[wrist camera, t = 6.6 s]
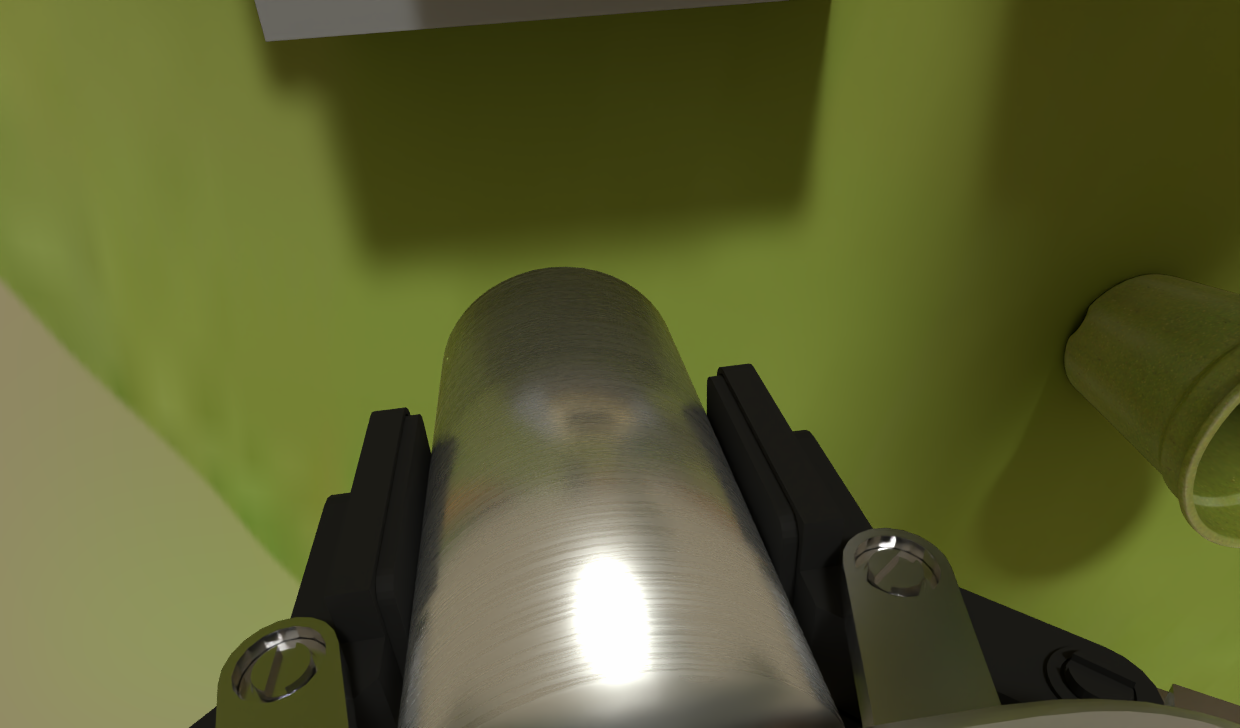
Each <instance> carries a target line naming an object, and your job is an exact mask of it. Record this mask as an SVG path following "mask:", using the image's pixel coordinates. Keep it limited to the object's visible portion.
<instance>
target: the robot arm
mask: <svg viewBox="0 0 1240 728" xmlns="http://www.w3.org/2000/svg"><path fill="white" fill-rule="evenodd" d="M707 417H708V420H709V422H710V424H711V426H712V429H713V431H714V433H715V436H716V438H717V440H718V442H719V445H720V447H721V449H722V451H723V454H724V456H725V458H726V460H727V463H728V465H729V467H730V469H731V472H732V474H733V476H734V478H735V481H736V483H737V485H738V487H739V490H740V492H741V494H742V496H743V499H744V501H745V503H746V505H747V508H748V510H749V512H750V514H751V517H752V519H753V521H754V523H755V526H756V528H757V530H758V532H759V535H760V537H761V539H762V541H763V544H764V546H765V548H766V550H767V553H768V555H769V557H770V559H771V562H772V564H773V566H774V568H775V571H776V573H777V575H778V577H779V580H780V582H781V584H782V586H783V589H784V591H785V593H786V595H787V598H788V600H789V602H790V604H791V607H792V609H793V611H794V614H795V616H796V618H797V620H798V623H799V625H800V627H801V629H802V632H803V634H804V636H805V638H806V641H807V643H808V645H809V647H810V650H811V652H812V654H813V656H814V659H815V661H816V663H817V665H818V668H819V670H820V672H821V674H822V677H823V679H824V681H825V683H826V686H827V688H828V690H829V692H830V695H831V697H832V699H833V701H834V704H835V706H836V708H837V710H838V713H839V715H840V717H841V719H842V722H843V724H844V726H845V728H1240V706H1239V705H1236V704H1233V703H1230V702H1227V701H1224V700H1221V699H1218V698H1215V697H1212V696H1209V695H1206V694H1203V693H1200V692H1197V691H1194V690H1191V689H1188V688H1185V687H1182V686H1179V685H1176V684H1172V686H1171V688H1170V690H1169V692H1167V691H1165V690H1162V689H1159V688H1156V686H1155V685H1154V684H1153V683H1152V681H1151V680H1150V679H1149V678H1148V677H1147V676H1146V675H1145V674H1144V672H1143V671H1142V670H1141V669H1139V668H1138V667H1137V666H1135V665H1134V664H1133V663H1131V662H1130V661H1129V660H1127V659H1126V658H1125V657H1123V656H1121V655H1119V654H1117V653H1115V652H1114V651H1112V650H1110V649H1108V648H1106V647H1104V646H1101V645H1099V644H1096V643H1094V642H1091V641H1089V640H1087V639H1084V638H1082V637H1079V636H1077V635H1074V634H1072V633H1069V632H1067V631H1065V630H1062V629H1060V628H1057V627H1055V626H1052V625H1050V624H1047V623H1045V622H1043V621H1040V620H1038V619H1035V618H1033V617H1030V616H1028V615H1025V614H1023V613H1021V612H1018V611H1016V610H1013V609H1011V608H1008V607H1006V606H1004V605H1001V604H999V603H996V602H994V601H991V600H989V599H986V598H984V597H982V596H979V595H977V594H974V593H972V592H969V591H967V590H964V589H962V588H960V587H958V584H957V581H956V578H955V576H954V573H953V570H952V567H951V566H950V564H949V562H948V560H947V559H946V557H945V555H944V554H943V553H942V552H941V551H940V550H939V549H938V548H937V547H935V546H934V545H933V544H932V543H930V542H928V541H927V540H925V539H923V538H922V537H920V536H918V535H915V534H912V533H909V532H906V531H904V530H898V529H891V528H878V529H873V528H872V527H871V525H870V523H869V522H868V520H867V519H866V517H865V516H864V514H863V513H862V511H861V509H860V508H859V506H858V505H857V503H856V502H855V500H854V498H853V497H852V495H851V494H850V492H849V491H848V489H847V488H846V486H845V484H844V483H843V481H842V480H841V478H840V477H839V475H838V473H837V472H836V470H835V469H834V467H833V466H832V464H831V463H830V461H829V459H828V458H827V456H826V455H825V453H824V452H823V450H822V448H821V447H820V445H819V444H818V442H817V441H816V439H815V438H814V436H813V435H812V434H811V433H810V432H809V431H807V430H801V431H793V432H792V430H791V428H790V427H789V425H788V423H787V422H786V420H785V418H784V417H783V415H782V413H781V412H780V410H779V408H778V407H777V405H776V403H775V402H774V400H773V398H772V397H771V395H770V393H769V392H768V390H767V388H766V387H765V385H764V383H763V382H762V380H761V378H760V377H759V375H758V373H757V372H756V370H755V369H754V367H753V366H752V364H742V365H734V366H726V367H719V369H718V372H717V376H712V377H709V378H708V380H707ZM430 461H431V452H430V448H429V443H428V439H427V435H426V431H425V427H424V422H423V419H422V416H421V415H420V414H418V415H410V412H409V410H408V409H407V408H406V407H405V408H397V409H390V410H382V411H374V412H372V414H371V416H370V420H369V424H368V427H367V431H366V435H365V439H364V443H363V447H362V451H361V454H360V458H359V462H358V466H357V470H356V474H355V477H354V481H353V485H352V489H351V493H344V494H337V495H331V496H330V497H328V498H327V501H326V503H325V505H324V509H323V512H322V515H321V519H320V522H319V525H318V529H317V532H316V535H315V539H314V542H313V545H312V549H311V552H310V555H309V559H308V562H307V565H306V569H305V572H304V575H303V579H302V582H301V585H300V589H299V592H298V596H297V599H296V602H295V605H294V609H293V612H292V616H291V618H290V619H286V620H282V621H278V622H276V623H273V624H271V625H269V626H267V627H264V628H262V629H260V630H259V631H257V632H256V633H254V634H253V635H251V636H250V637H249V638H247V639H246V640H244V641H243V642H242V643H241V644H240V646H239V647H238V648H237V649H236V650H235V651H234V652H233V653H232V654H231V655H230V657H229V658H228V660H227V661H226V663H225V665H224V666H223V668H222V670H221V674H220V678H219V682H218V690H217V691H218V692H217V706H216V707H215V708H214V709H212V710H211V711H210V712H209V713H207V714H206V715H205V716H203V717H202V718H201V719H200V720H198V721H197V722H196V723H194V724H193V725H192V726H191V727H189V728H398V720H399V712H400V704H401V696H402V688H403V679H404V671H405V663H406V655H407V647H408V639H409V631H410V623H411V615H412V607H413V599H414V590H415V582H416V574H417V566H418V558H419V550H420V542H421V534H422V526H423V518H424V510H425V502H426V493H427V485H428V477H429V469H430Z"/></svg>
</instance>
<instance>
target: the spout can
mask: <svg viewBox="0 0 1240 728" xmlns="http://www.w3.org/2000/svg"><path fill="white" fill-rule="evenodd" d="M398 728H845V726H844V724H843V722H842V719H841V717H840V715H839V713H838V710H837V708H836V706H835V704H834V701H833V699H832V697H831V695H830V692H829V690H828V688H827V686H826V683H825V681H824V679H823V677H822V674H821V672H820V670H819V668H818V665H817V663H816V661H815V659H814V656H813V654H812V652H811V650H810V647H809V645H808V643H807V641H806V638H805V636H804V634H803V632H802V629H801V627H800V625H799V623H798V620H797V618H796V616H795V614H794V611H793V609H792V607H791V604H790V602H789V600H788V598H787V595H786V593H785V591H784V589H783V586H782V584H781V582H780V580H779V577H778V575H777V573H776V571H775V568H774V566H773V564H772V562H771V559H770V557H769V555H768V553H767V550H766V548H765V546H764V544H763V541H762V539H761V537H760V535H759V532H758V530H757V528H756V526H755V523H754V521H753V519H752V517H751V514H750V512H749V510H748V508H747V505H746V503H745V501H744V499H743V496H742V494H741V492H740V490H739V487H738V485H737V483H736V481H735V478H734V476H733V474H732V472H731V469H730V467H729V465H728V463H727V460H726V458H725V456H724V454H723V451H722V449H721V447H720V445H719V442H718V440H717V438H716V436H715V433H714V431H713V429H712V426H711V424H710V422H709V420H708V417H707V415H706V413H705V411H704V408H703V406H702V404H701V402H700V399H699V397H698V395H697V393H696V390H695V388H694V386H693V384H692V381H691V379H690V377H689V375H688V372H687V370H686V368H685V366H684V363H683V361H682V359H681V357H680V354H679V352H678V350H677V348H676V345H675V343H674V341H673V339H672V336H671V334H670V332H669V330H668V327H667V325H666V323H665V321H664V320H663V318H662V316H661V315H660V313H659V311H658V310H657V309H656V308H655V307H654V305H653V304H652V303H651V302H650V301H649V300H648V299H647V298H646V297H645V296H644V295H643V294H641V293H640V292H639V291H638V290H636V289H635V288H633V287H632V286H630V285H629V284H627V283H626V282H624V281H622V280H620V279H617V278H615V277H613V276H611V275H608V274H605V273H602V272H599V271H595V270H590V269H585V268H576V267H551V268H544V269H538V270H532V271H529V272H526V273H523V274H519V275H516V276H514V277H512V278H509V279H507V280H505V281H503V282H501V283H499V284H497V285H496V286H494V287H492V288H491V289H489V290H488V291H486V292H485V293H484V294H483V295H481V296H480V297H479V298H478V299H476V300H475V301H474V302H473V303H472V304H471V305H470V307H469V308H468V309H467V310H466V311H465V312H464V313H463V315H462V316H461V317H460V319H459V320H458V322H457V323H456V325H455V327H454V329H453V331H452V333H451V334H450V337H449V339H448V342H447V345H446V348H445V353H444V358H443V364H442V372H441V380H440V388H439V396H438V404H437V413H436V421H435V429H434V437H433V445H432V453H431V461H430V469H429V477H428V485H427V493H426V502H425V510H424V518H423V526H422V534H421V542H420V550H419V558H418V566H417V574H416V582H415V590H414V599H413V607H412V615H411V623H410V631H409V639H408V647H407V655H406V663H405V671H404V679H403V688H402V696H401V704H400V712H399V720H398Z"/></svg>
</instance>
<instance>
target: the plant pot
mask: <svg viewBox="0 0 1240 728" xmlns="http://www.w3.org/2000/svg"><path fill="white" fill-rule="evenodd" d="M1064 363H1065V370H1066V374H1067V376H1068V379H1069V380H1070V382H1071V384H1072V385H1073V386H1074V387H1075V388H1076V389H1077V390H1078V391H1079V392H1080V393H1081V394H1082V395H1083V396H1084V397H1085V398H1086V399H1087V400H1088V401H1089V402H1090V403H1091V404H1092V405H1093V406H1094V407H1095V408H1096V409H1097V410H1098V411H1099V412H1100V413H1101V414H1102V415H1103V416H1104V417H1105V418H1106V419H1107V420H1108V421H1109V422H1110V423H1111V424H1112V425H1113V426H1114V427H1115V428H1116V429H1117V430H1118V431H1119V432H1120V433H1121V434H1122V435H1123V436H1124V437H1125V438H1126V439H1127V440H1128V441H1129V442H1130V443H1131V444H1132V445H1133V446H1134V447H1135V448H1136V449H1137V450H1138V451H1139V452H1140V453H1141V454H1142V455H1143V456H1144V457H1145V458H1146V459H1147V460H1148V461H1149V462H1150V463H1151V464H1152V465H1153V466H1154V467H1155V468H1156V469H1157V470H1158V471H1159V472H1160V473H1161V474H1162V476H1163V479H1164V481H1165V483H1166V485H1167V486H1168V488H1169V489H1170V490H1171V492H1172V493H1173V494H1174V495H1175V496H1176V497H1177V498H1178V499H1179V504H1180V508H1181V511H1182V513H1183V515H1184V517H1185V519H1186V520H1187V522H1188V523H1189V524H1190V526H1191V527H1192V528H1193V529H1194V530H1196V531H1197V532H1198V533H1199V534H1200V535H1201V536H1203V537H1204V538H1206V539H1207V540H1209V541H1211V542H1213V543H1216V544H1219V545H1223V546H1228V547H1236V548H1240V294H1237V293H1233V292H1229V291H1225V290H1222V289H1218V288H1214V287H1211V286H1207V285H1203V284H1200V283H1196V282H1192V281H1189V280H1185V279H1181V278H1178V277H1173V276H1168V275H1161V274H1149V275H1143V276H1139V277H1135V278H1132V279H1129V280H1126V281H1124V282H1122V283H1120V284H1118V285H1116V286H1115V287H1113V288H1112V289H1110V290H1108V291H1107V292H1105V293H1104V294H1103V295H1101V296H1100V297H1099V298H1098V299H1097V300H1096V301H1094V302H1093V303H1092V304H1091V305H1090V307H1089V309H1088V312H1087V315H1086V317H1085V319H1084V321H1083V322H1082V324H1081V326H1080V327H1079V329H1078V330H1077V331H1076V332H1075V333H1074V334H1073V335H1071V336H1070V337H1069V339H1068V342H1067V345H1066V350H1065V355H1064Z"/></svg>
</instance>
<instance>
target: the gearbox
mask: <svg viewBox="0 0 1240 728" xmlns="http://www.w3.org/2000/svg"><path fill="white" fill-rule="evenodd" d="M774 1H787V0H255V4H256V7H257V11H258V15H259V18H260V22H261V26H262V29H263V33H264V37H265V40H266V41H279V40H291V39H304V38H317V37H329V36H342V35H355V34H368V33H380V32H393V31H406V30H418V29H431V28H444V27H456V26H469V25H482V24H495V23H507V22H520V21H533V20H545V19H558V18H571V17H583V16H596V15H609V14H622V13H634V12H647V11H660V10H672V9H685V8H698V7H710V6H723V5H736V4H749V3H761V2H774Z"/></svg>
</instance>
